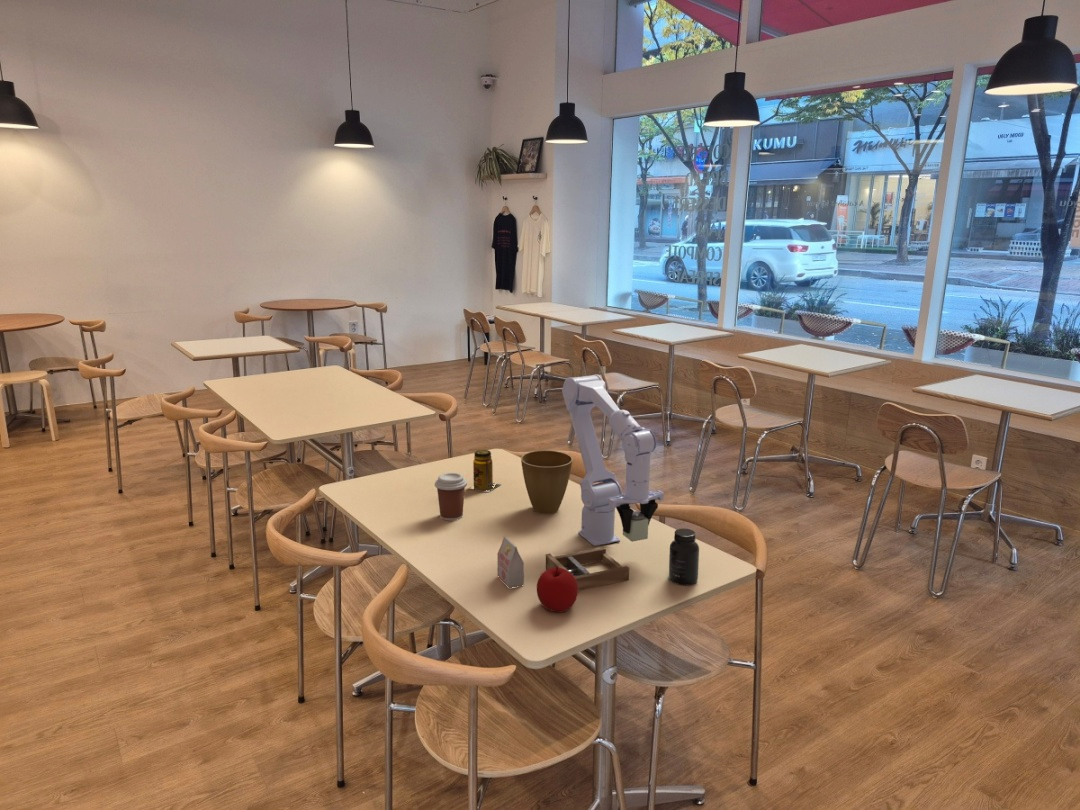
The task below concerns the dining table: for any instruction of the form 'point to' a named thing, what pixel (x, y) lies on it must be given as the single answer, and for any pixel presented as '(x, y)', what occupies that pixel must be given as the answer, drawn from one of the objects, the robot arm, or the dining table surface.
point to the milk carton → (510, 564)
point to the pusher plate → (575, 567)
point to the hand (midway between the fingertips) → (635, 530)
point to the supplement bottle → (684, 558)
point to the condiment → (483, 471)
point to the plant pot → (546, 478)
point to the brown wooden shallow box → (596, 578)
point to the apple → (557, 589)
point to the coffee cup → (451, 495)
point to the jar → (638, 527)
